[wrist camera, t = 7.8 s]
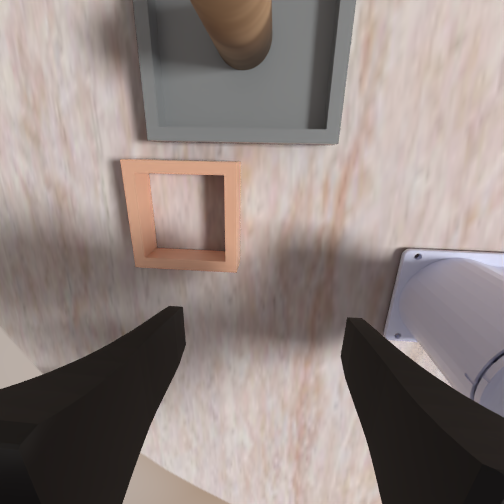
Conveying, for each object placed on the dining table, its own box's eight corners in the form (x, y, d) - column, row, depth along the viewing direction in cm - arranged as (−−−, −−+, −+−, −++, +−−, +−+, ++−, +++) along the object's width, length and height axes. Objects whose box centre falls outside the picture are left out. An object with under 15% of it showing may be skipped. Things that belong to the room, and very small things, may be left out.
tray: (361, -106, 14) (373, -142, 12) (332, 144, 18) (338, 143, 16) (137, -96, 14) (119, -129, 13) (159, 141, 19) (147, 140, 17)
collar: (240, 161, 19) (236, 162, 17) (240, 261, 21) (236, 272, 19) (136, 159, 19) (120, 159, 17) (148, 256, 22) (135, 267, 20)
